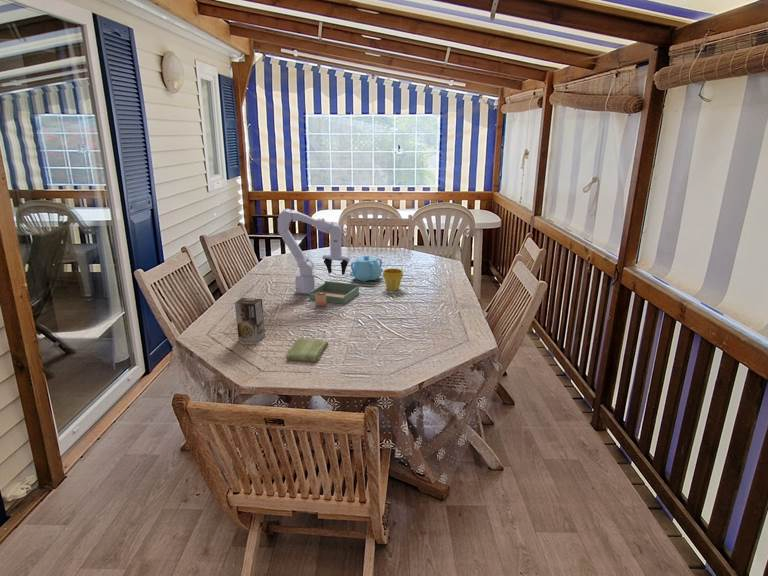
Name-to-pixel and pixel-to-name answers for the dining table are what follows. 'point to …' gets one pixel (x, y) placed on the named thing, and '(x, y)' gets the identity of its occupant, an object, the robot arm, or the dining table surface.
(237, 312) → the coffee box
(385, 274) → the plant pot
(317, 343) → the washcloth
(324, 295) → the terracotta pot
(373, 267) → the decorative pot
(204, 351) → the dining table surface
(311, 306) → the mat
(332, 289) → the green shallow tray
